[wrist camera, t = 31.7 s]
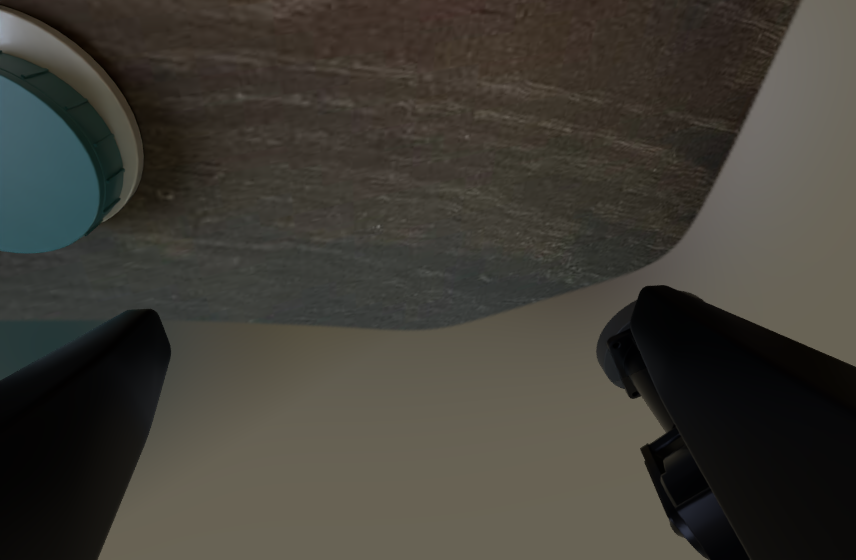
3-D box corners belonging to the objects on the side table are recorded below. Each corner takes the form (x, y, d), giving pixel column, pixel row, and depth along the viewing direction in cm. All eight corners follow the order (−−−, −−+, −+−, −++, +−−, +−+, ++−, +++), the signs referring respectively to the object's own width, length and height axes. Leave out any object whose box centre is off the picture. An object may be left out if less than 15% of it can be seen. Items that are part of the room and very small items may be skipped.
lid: (114, 252, 19) (91, 277, 17) (-85, 194, 17) (-132, 216, 15) (136, 102, 16) (111, 115, 14) (-102, 7, 14) (-163, 10, 12)
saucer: (190, 165, 18) (185, 170, 17) (44, 258, 19) (36, 265, 19) (-7, -56, 14) (-22, -58, 13) (-176, 83, 15) (-194, 86, 15)
